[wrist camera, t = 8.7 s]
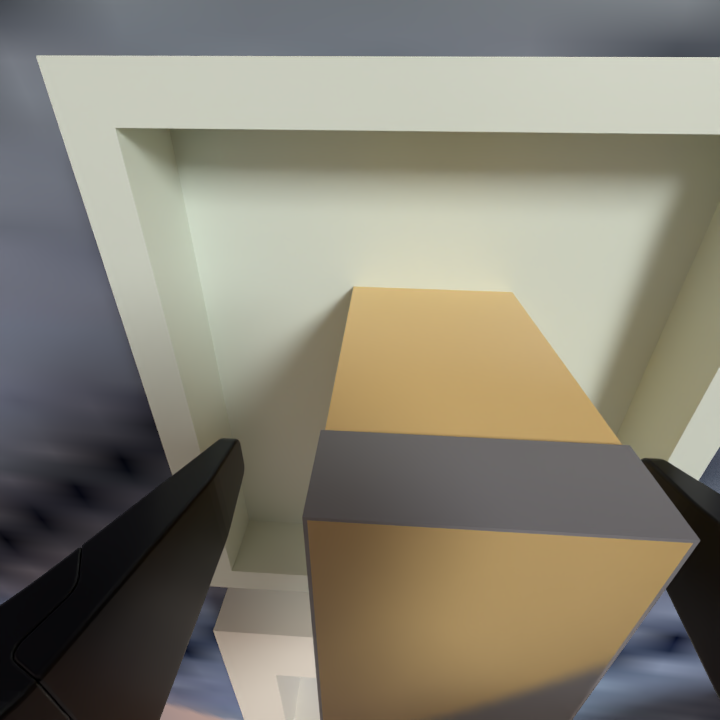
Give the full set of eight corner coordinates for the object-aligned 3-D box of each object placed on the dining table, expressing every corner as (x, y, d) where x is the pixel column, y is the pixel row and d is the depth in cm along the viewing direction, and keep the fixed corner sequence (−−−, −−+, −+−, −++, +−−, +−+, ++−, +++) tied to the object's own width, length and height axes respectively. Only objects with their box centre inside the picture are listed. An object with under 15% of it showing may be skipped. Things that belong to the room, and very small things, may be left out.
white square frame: (571, 574, 17) (604, 657, 14) (505, 712, 24) (520, 783, 21) (238, 555, 17) (213, 630, 15) (272, 694, 25) (259, 762, 22)
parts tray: (808, 73, 8) (962, 58, 6) (585, 544, 16) (616, 611, 14) (123, 71, 9) (35, 55, 6) (231, 524, 16) (208, 586, 14)
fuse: (514, 290, 10) (701, 540, 4) (475, 465, 13) (548, 753, 7) (351, 284, 10) (301, 517, 4) (350, 459, 13) (321, 734, 7)
